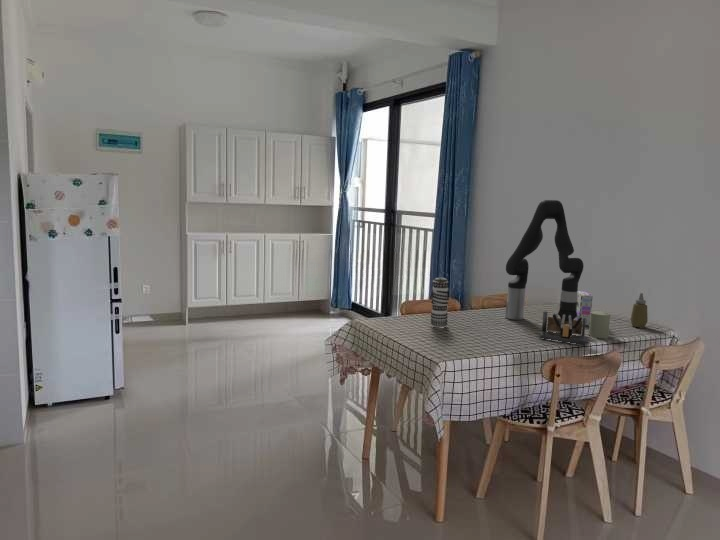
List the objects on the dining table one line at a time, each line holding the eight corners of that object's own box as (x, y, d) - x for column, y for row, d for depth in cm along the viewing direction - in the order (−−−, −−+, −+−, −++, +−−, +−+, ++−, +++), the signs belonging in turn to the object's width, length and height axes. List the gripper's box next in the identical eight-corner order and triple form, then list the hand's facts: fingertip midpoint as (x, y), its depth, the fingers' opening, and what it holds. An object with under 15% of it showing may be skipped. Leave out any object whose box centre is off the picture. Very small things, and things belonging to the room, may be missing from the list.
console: (540, 339, 267) (540, 335, 267) (543, 335, 275) (543, 331, 275) (584, 345, 258) (585, 341, 258) (586, 341, 266) (587, 336, 266)
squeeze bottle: (646, 326, 298) (649, 292, 295) (647, 329, 290) (650, 295, 288) (629, 324, 301) (632, 291, 298) (629, 327, 294) (633, 293, 291)
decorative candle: (451, 326, 288) (453, 278, 285) (441, 329, 282) (443, 280, 278) (436, 323, 295) (438, 276, 291) (426, 326, 288) (428, 278, 284)
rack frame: (541, 331, 282) (543, 311, 281) (542, 330, 284) (543, 311, 283) (583, 336, 273) (585, 316, 272) (584, 335, 275) (585, 315, 274)
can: (607, 339, 270) (609, 315, 268) (586, 336, 274) (588, 312, 273) (610, 335, 277) (612, 311, 276) (590, 332, 282) (592, 309, 280)
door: (546, 330, 280) (547, 317, 279) (547, 329, 283) (548, 316, 282) (580, 335, 273) (581, 321, 272) (581, 334, 275) (582, 320, 274)
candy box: (590, 326, 294) (592, 295, 292) (578, 325, 295) (581, 295, 293) (585, 320, 308) (587, 291, 305) (574, 319, 309) (576, 290, 306)
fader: (562, 336, 264) (563, 325, 263) (563, 334, 268) (564, 323, 268) (567, 337, 263) (568, 326, 262) (569, 334, 267) (570, 324, 267)
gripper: (551, 299, 263) (549, 335, 265) (583, 303, 257) (580, 339, 259) (554, 297, 269) (551, 332, 272) (585, 300, 263) (582, 336, 266)
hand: (565, 335), depth 266 cm, fingers closed on fader, 2 cm apart
